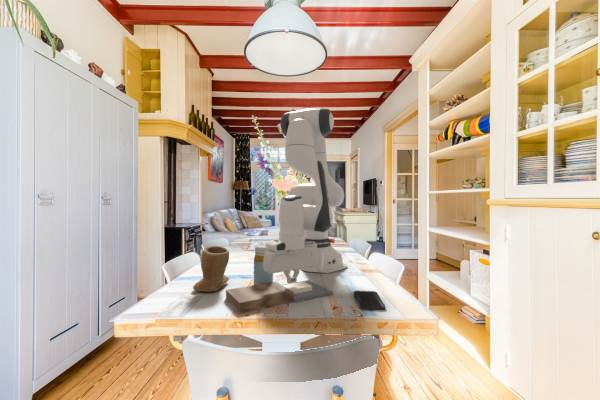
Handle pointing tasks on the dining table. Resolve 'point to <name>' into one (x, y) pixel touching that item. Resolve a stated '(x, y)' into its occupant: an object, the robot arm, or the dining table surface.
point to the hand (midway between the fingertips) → (291, 282)
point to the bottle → (260, 266)
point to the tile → (298, 287)
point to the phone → (369, 300)
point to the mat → (312, 292)
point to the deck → (258, 296)
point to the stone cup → (213, 269)
